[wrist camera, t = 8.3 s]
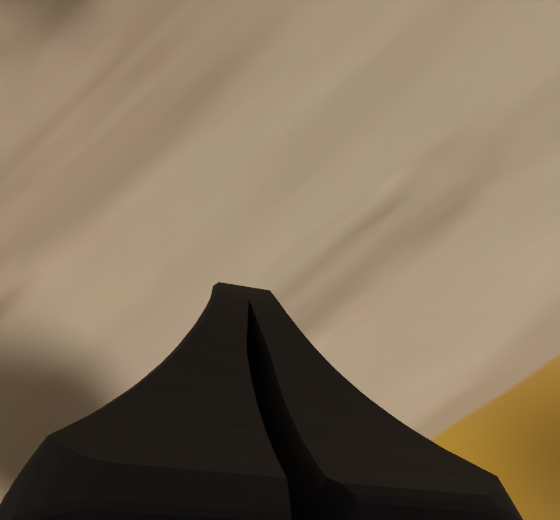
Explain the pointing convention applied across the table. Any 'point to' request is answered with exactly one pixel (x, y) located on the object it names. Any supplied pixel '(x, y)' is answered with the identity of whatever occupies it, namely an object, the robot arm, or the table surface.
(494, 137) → the table surface
